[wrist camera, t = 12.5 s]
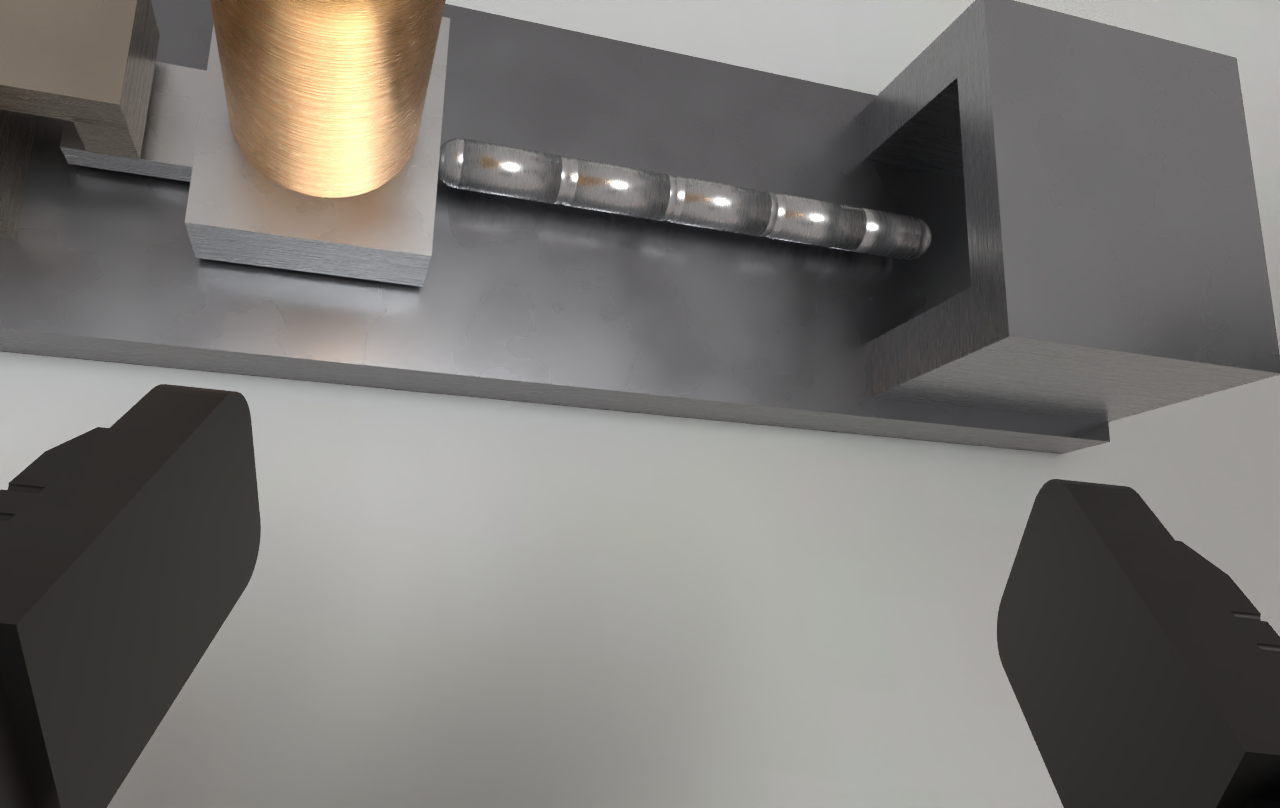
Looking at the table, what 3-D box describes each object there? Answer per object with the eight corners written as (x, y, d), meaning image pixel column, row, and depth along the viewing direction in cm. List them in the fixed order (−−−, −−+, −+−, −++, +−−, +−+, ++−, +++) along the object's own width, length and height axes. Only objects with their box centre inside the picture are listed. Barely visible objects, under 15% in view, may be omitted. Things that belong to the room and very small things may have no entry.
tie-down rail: (1037, 166, 33) (1233, 38, 26) (1062, 453, 31) (1285, 397, 24) (-43, -50, 24) (-195, -341, 17) (-130, 338, 22) (-350, 189, 14)
